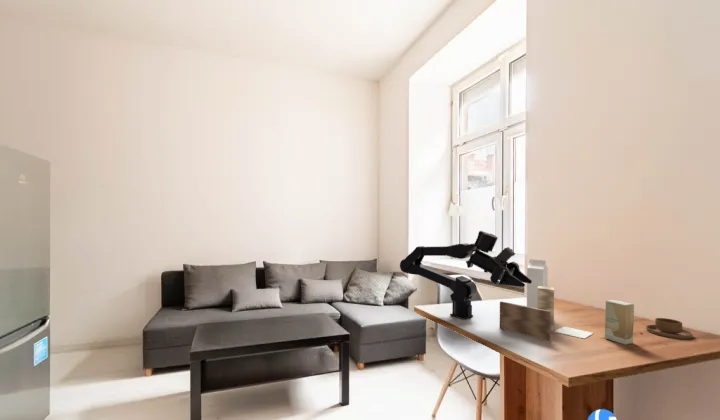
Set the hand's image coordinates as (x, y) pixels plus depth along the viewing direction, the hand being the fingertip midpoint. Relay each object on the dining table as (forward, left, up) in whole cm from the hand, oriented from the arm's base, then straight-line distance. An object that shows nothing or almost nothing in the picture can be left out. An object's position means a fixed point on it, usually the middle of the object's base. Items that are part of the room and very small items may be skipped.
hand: (528, 284), depth 123 cm
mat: (+12, +8, -15) cm, 21 cm away
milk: (-5, +21, -16) cm, 27 cm away
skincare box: (+24, +11, -16) cm, 30 cm away
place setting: (+28, +34, -16) cm, 47 cm away
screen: (+2, -7, -15) cm, 17 cm away
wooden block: (+4, +6, -15) cm, 17 cm away
